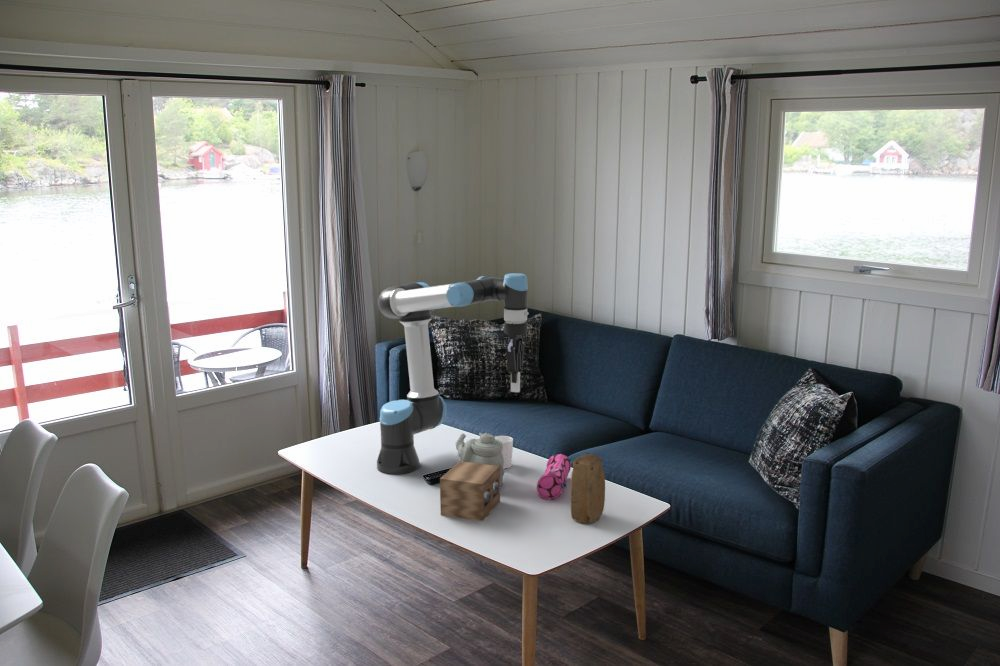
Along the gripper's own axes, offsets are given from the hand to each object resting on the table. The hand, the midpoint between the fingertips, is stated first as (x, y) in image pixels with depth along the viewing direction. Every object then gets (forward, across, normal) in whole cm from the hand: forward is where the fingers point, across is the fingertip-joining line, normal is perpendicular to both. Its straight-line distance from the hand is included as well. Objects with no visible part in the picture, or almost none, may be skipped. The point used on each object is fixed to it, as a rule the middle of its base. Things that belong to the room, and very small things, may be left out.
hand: (515, 391), depth 285 cm
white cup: (+34, +16, +11) cm, 39 cm away
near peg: (+29, -26, +6) cm, 40 cm away
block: (+33, -17, -30) cm, 48 cm away
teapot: (+34, -2, +12) cm, 36 cm away
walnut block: (+33, -22, +7) cm, 40 cm away
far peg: (+29, -18, +7) cm, 35 cm away
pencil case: (+33, +2, -14) cm, 36 cm away
